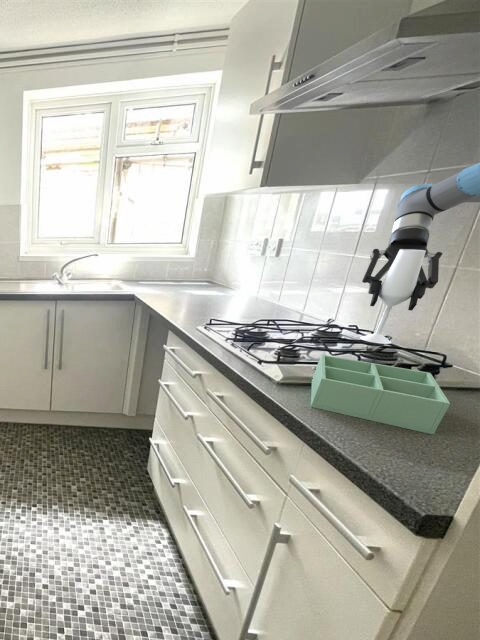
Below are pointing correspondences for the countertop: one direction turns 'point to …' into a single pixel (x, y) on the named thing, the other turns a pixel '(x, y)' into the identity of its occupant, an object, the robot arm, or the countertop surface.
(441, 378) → the countertop surface
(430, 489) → the countertop surface
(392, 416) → the divided storage box
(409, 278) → the champagne flute
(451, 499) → the countertop surface
